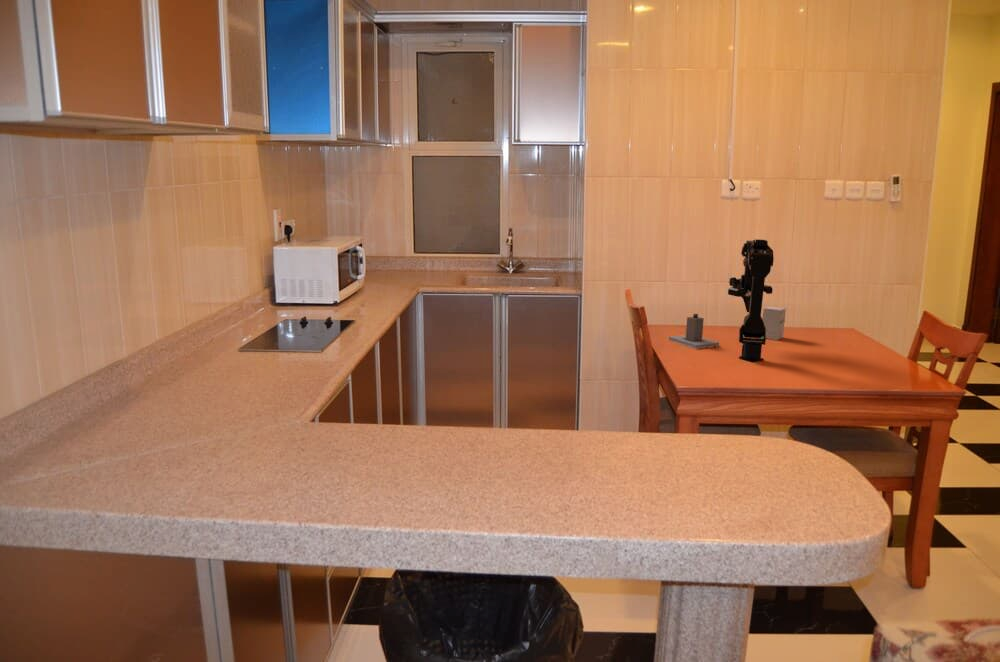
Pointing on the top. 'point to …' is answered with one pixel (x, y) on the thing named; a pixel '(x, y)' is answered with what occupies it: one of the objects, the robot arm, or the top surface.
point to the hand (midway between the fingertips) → (748, 312)
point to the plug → (694, 328)
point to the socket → (695, 345)
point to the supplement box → (774, 322)
